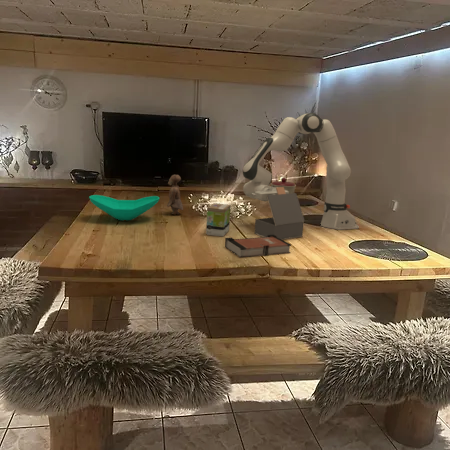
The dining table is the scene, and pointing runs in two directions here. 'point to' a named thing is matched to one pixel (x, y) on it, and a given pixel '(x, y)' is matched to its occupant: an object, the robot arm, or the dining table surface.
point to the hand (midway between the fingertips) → (281, 197)
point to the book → (257, 246)
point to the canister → (284, 185)
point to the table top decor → (124, 206)
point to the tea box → (218, 219)
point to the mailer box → (278, 229)
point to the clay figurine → (174, 194)
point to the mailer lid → (285, 207)
